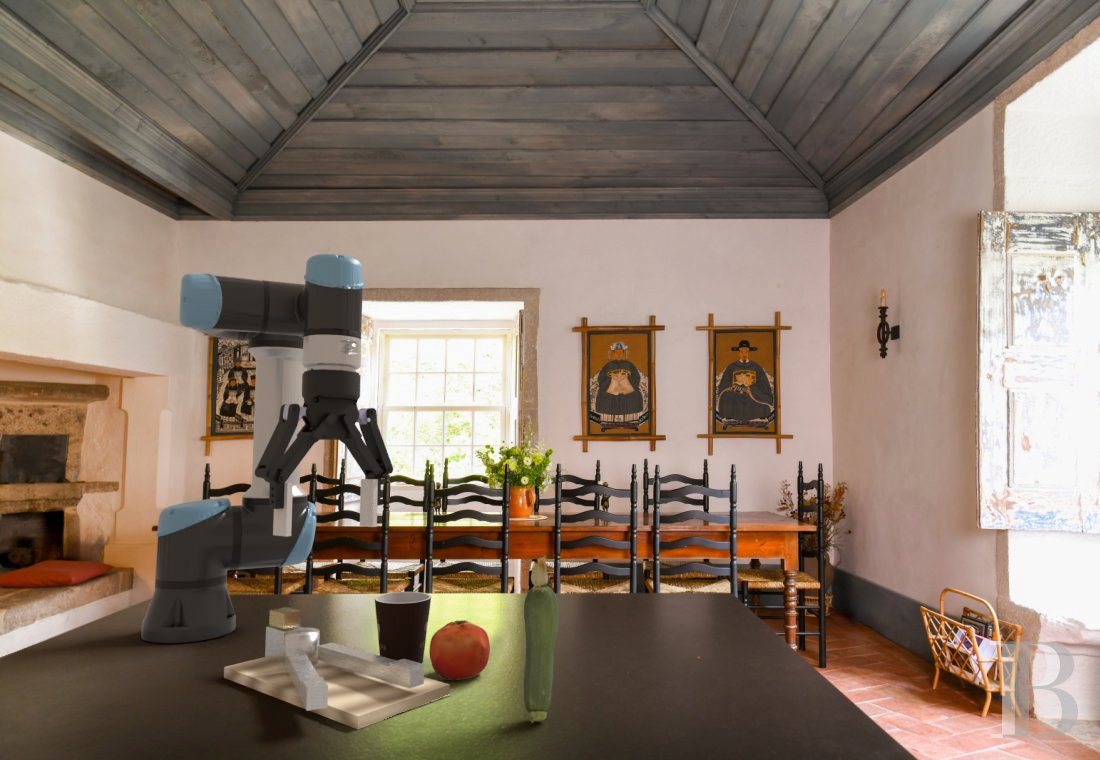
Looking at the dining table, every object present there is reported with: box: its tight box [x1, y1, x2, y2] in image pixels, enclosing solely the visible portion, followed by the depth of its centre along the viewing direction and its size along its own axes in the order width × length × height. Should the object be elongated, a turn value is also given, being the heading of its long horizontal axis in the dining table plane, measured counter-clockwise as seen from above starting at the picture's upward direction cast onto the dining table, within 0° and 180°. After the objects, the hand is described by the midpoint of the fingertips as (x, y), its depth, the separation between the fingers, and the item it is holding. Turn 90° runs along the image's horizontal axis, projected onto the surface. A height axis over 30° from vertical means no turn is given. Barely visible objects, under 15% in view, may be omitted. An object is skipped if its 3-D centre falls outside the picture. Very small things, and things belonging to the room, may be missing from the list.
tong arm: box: [284, 649, 328, 712], centre depth 96 cm, size 20×2×2 cm, turn 27°
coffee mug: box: [374, 591, 432, 664], centre depth 116 cm, size 12×9×10 cm
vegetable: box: [523, 555, 560, 724], centre depth 92 cm, size 4×4×20 cm
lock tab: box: [268, 606, 302, 629], centre depth 112 cm, size 4×3×2 cm
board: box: [223, 656, 451, 730], centre depth 103 cm, size 31×15×2 cm, turn 52°
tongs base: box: [264, 625, 425, 689], centre depth 104 cm, size 30×5×4 cm, turn 52°
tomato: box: [429, 619, 491, 681], centre depth 108 cm, size 9×9×8 cm
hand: (327, 531), depth 97 cm, fingers open, 13 cm apart
